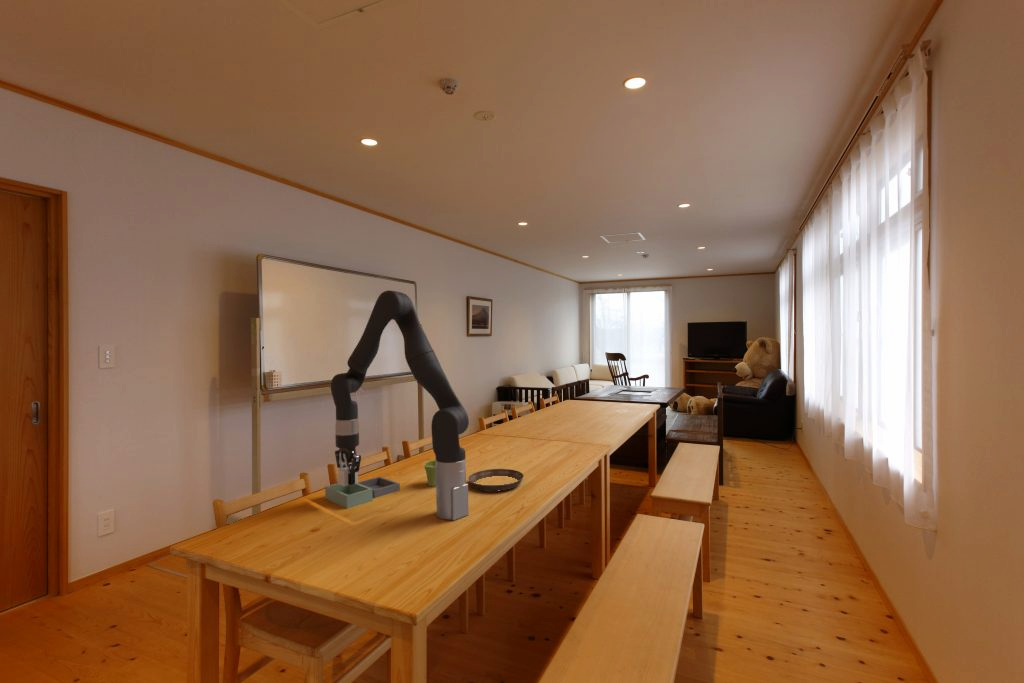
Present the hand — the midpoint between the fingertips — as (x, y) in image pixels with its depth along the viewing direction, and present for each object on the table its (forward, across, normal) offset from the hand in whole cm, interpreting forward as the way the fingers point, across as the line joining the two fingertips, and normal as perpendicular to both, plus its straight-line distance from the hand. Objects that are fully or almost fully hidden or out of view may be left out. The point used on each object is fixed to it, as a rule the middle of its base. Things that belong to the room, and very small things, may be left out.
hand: (348, 482), depth 158 cm
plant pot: (+7, -10, -30) cm, 32 cm away
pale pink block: (0, 0, 0) cm, 0 cm away
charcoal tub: (+7, +1, -12) cm, 13 cm away
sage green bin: (+7, 0, 0) cm, 7 cm away
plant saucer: (+7, -25, -46) cm, 52 cm away
